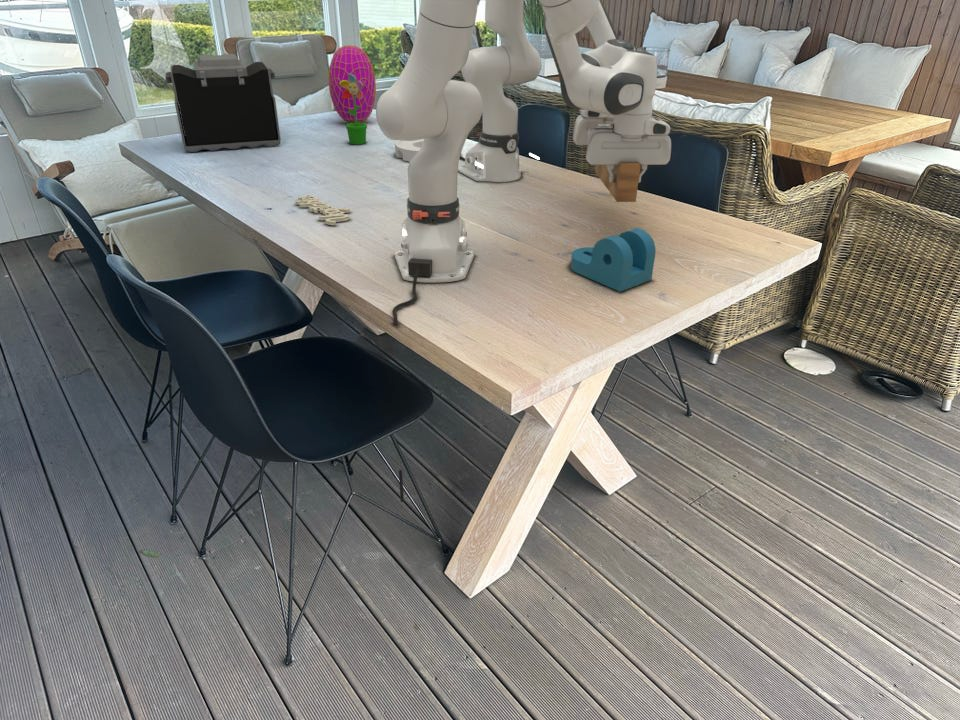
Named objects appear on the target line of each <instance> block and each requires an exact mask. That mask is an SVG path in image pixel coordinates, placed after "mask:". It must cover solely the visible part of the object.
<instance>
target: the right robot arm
mask: <svg viewBox="0 0 960 720" xmlns="http://www.w3.org/2000/svg"><path fill="white" fill-rule="evenodd" d="M484 1H485V3H484V4H485V5H484V7H485V8H484V22H485V23H486V26H487V28H489V29H490V30H491V31H493V32H494V33H495V34H497V35H498V37H499V41H500V45H498V46H496V45H495V46H481V47H477V48H473V49H470V50H469V55H468V59H467V62H466V64H465V65H464V66H463V68H462V69H461V70H460V72H461V75H462V78H463V80H464V82H468V83H471V84H473V85H474V86H475V87H476V88H477V89H478V91H479V93H480V95H481V98H482V103H483V110H482V115H481V117H482V130H481V131H479V132H477V135H476V137H479V139H478V142H477V143H476V144H475V145H474V146H473V147H471V148H470V149H469V150H468V151H467V152H466V153H465V156H464V157H463V156H462V155H460V158H459V160H462V161H463V162H464V164H463V165H460V166H458V172H459V173H461V174H462V175H465V176H466V177H468V178H470V179H472V180H473V181H475V182H491V183H507V182H508V183H509V182H514V181H518V180H520V179H521V177H522V175H521V173H522V168H521V167H520V165H521V164H520V150H519V147H518V145H519V141H520V136H519V134H520V133H519V131H518V124H519V123H518V122H519V108H518V106H517V104H516V103H515V101H513V100H512V99H510V98H508V97H507V96H506V95H505V93H504V86H515V85H524V84H527V83H529V82H533V81H535V80H536V79H538V77H539V75H540V73H541V70H542V58H541V55H540V54H539V51H538V50H537V49H536V48H535V47H534V46H533V45H532V44H531V42H530V40H529V39H528V37H527V34H526V30H525V25H524V2H525V1H524V0H484ZM585 27H586V28H587V30H588V31H589V34H590V36H591V38H592V41H593V43H594V45H595V48H594V49H592V50H587V51H585V52H580V53H581V56H582V58H583V59H584V60H585V61H586V62H587V63H589V64H591V65H594V66H599V67H605V68H610V67H611V66H613V65H614V64H616V63H617V62H618V61H619V60H620V59H621V58H622V56H623V53H624V51H626V50H636V47H635V45H634V44H633V43H631V42H630V41H628V40H626V39H619V37H618V34H617V32H616V29H615V27H614V25H613V23H612V20H611V18H610V15H609V13H608V11H607V9H606V7H605V5H604V2H603V1H602V0H599V4H598V8H597V11H596V13H595V15H594V17H593V18H592V20H591V21H590V22H589V23H588V24H587V25H586V26H585ZM578 110H579V115H578V116H577V117H576V119H575V122H574V126H573V131H572V141H573V143H574V144H575V145H576V146H588V140H587V134H588V130H589V129H590V128H591V127H592V126H594V125H596V124H600V125H604V124H613V118H614V115H608V114H603V113H598V112H593V111H589V110H580V109H578ZM592 129H594V128H592ZM528 155H529V156H530V157H532V158H534V159H536V160H538V161H539V160H541V159H540V157H539V156H537V155H536V154H533V153H531V152H529V153H528Z"/></svg>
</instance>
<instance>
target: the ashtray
mask: <svg viewBox="0 0 960 720" xmlns="http://www.w3.org/2000/svg"><path fill="white" fill-rule="evenodd" d="M423 142H424V139H421V140H415V141H399V140H396V141H395V143H394V152H395V153H394V154H395V158H397V159H402V160H403V161H404V162H409V163H410V161H411V159H412V158H413V157H414V156H415V155H416V154H417V153H418V152H419V150H420V148H421V147H422V144H423Z"/></svg>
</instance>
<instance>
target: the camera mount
mask: <svg viewBox="0 0 960 720" xmlns="http://www.w3.org/2000/svg"><path fill="white" fill-rule="evenodd" d="M655 259H656V245H655V241H654V239H653V238H652V236H651V235H650V234H649V232H647V230H644V229H642V228H638V227H637V228H632V229H629V230H626V231H623V232H621V233H620V234H619V235H611V236H607V237H604V238H600V239H599V240H597V241H596V242H595V244H594V245H593V246H587V247H586V246H585V247H580V248H575V249H574V250H573V251H572V252H571V257H570V270H572V271H573V272H575V273H576V274H578V275H581V276H583V277H585V278H587V279H590V280H591V281H594V282H597V283H599V284H601V285H604V286H606V287H609V289H612V290H614V291H617V292H619V293H621V292H624V291H626V290H629V289H631V288H635V287H637V286H639V285H641V284H644V283H647V282H650V281H652V278H653V273H654V266H655Z"/></svg>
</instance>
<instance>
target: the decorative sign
mask: <svg viewBox="0 0 960 720" xmlns="http://www.w3.org/2000/svg"><path fill="white" fill-rule="evenodd" d="M295 205H296V206H299V208H308V210H309V213H310V212H311V213H314V214H318V213H320V214H323V215H318V220H319V221H321V222H323V221H325V224H326V225H328V226H337V223H340V222H347V221H349V220H350V215H349V213H350V212H351V209H350V208H349V207H335V206H333V205H331V204H330V203H326V201H323V200H321V199H320V198H318V197H316V196H314V195H313V194H305V195H303V196H301V195H298V196H297V200H295Z"/></svg>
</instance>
